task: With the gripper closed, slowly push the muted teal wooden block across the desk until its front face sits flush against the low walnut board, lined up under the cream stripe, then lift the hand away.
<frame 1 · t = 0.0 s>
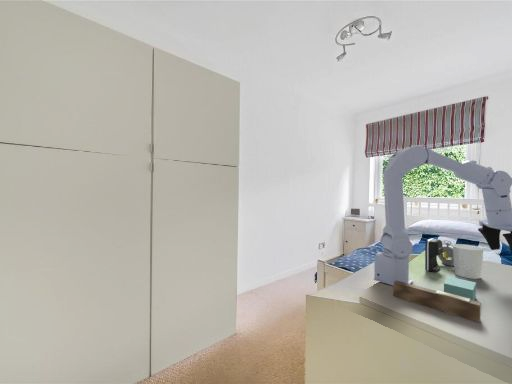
hand: (505, 252, 72), 11 cm above the table, tool pointing down, fingers open, 7 cm apart
pocket watch: (450, 265, 92), on the table
white cup: (467, 275, 82), on the table
battery charger: (434, 270, 87), on the table
teal block: (459, 298, 66), on the table
walnut board: (432, 306, 62), on the table
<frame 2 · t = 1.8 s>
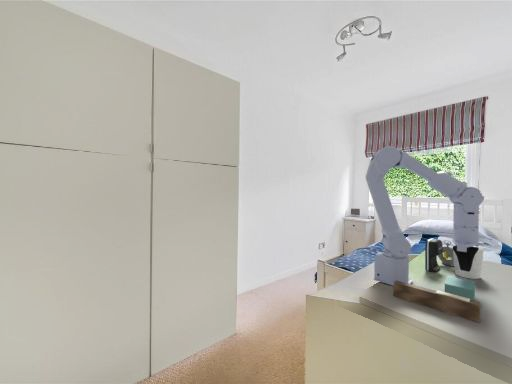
hand: (465, 270, 72), 6 cm above the table, tool pointing down, fingers closed
nothing on the table moved.
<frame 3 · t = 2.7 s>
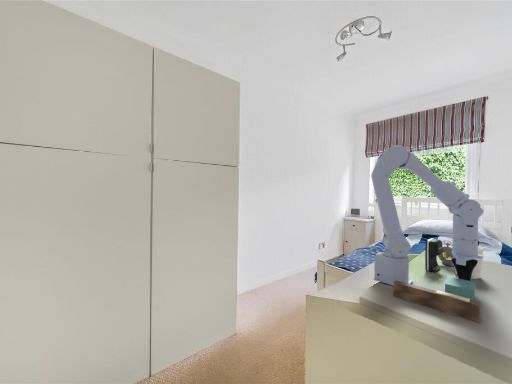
hand: (464, 283, 71), 2 cm above the table, tool pointing down, fingers closed
nothing on the table moved.
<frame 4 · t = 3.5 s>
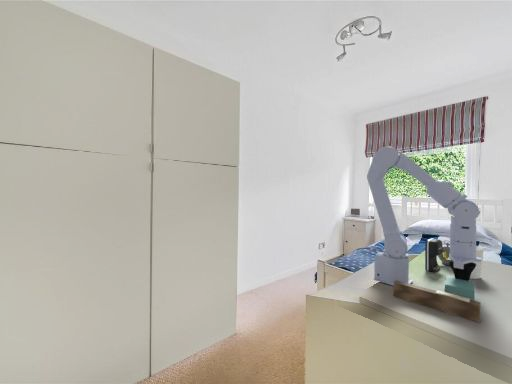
hand: (462, 287, 69), 2 cm above the table, tool pointing down, fingers closed
teal block: (459, 299, 65), on the table, touching gripper
everything else where it was.
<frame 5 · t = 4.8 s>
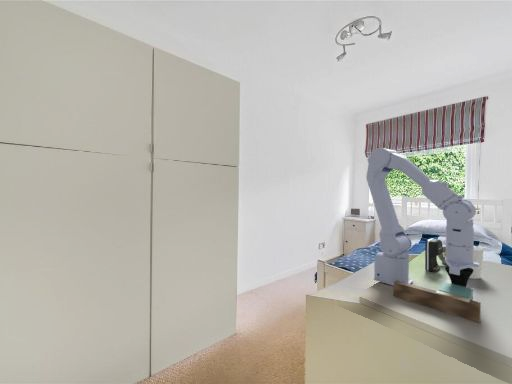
hand: (458, 293, 64), 2 cm above the table, tool pointing down, fingers closed
teal block: (455, 305, 62), on the table, touching gripper, walnut board
everything else where it was.
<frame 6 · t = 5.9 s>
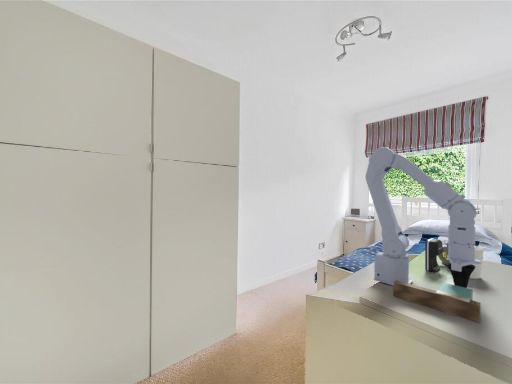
hand: (460, 289, 67), 2 cm above the table, tool pointing down, fingers closed
teal block: (455, 306, 62), on the table
everything else where it was.
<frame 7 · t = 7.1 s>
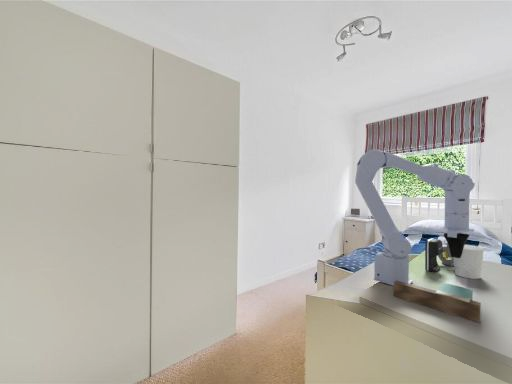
hand: (456, 257, 73), 9 cm above the table, tool pointing down, fingers closed
nothing on the table moved.
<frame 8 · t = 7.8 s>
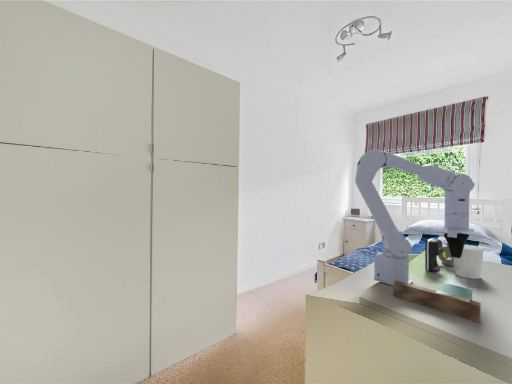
hand: (456, 257, 73), 9 cm above the table, tool pointing down, fingers closed
nothing on the table moved.
at the end: teal block 0.5 cm from the target spot on the table beside the walnut board, on the table; teal block tilted 0° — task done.
